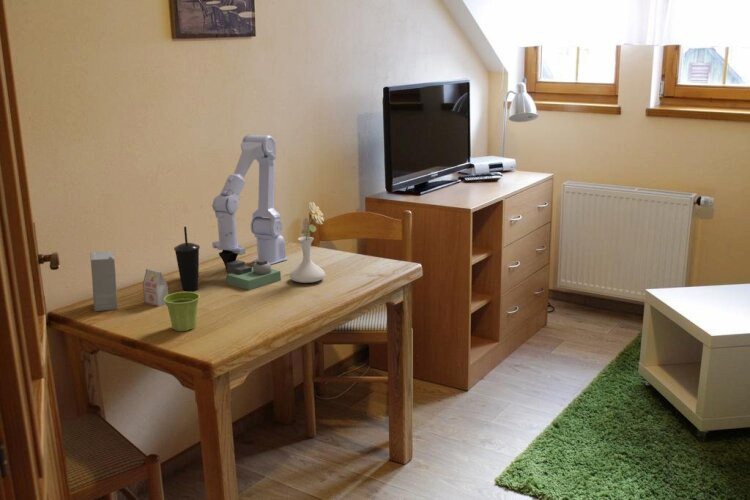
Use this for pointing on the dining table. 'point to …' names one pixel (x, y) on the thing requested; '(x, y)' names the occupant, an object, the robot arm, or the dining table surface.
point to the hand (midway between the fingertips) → (230, 272)
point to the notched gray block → (238, 267)
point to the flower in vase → (307, 268)
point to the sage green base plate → (255, 276)
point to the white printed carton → (154, 288)
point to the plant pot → (182, 310)
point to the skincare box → (104, 280)
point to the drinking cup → (188, 264)
